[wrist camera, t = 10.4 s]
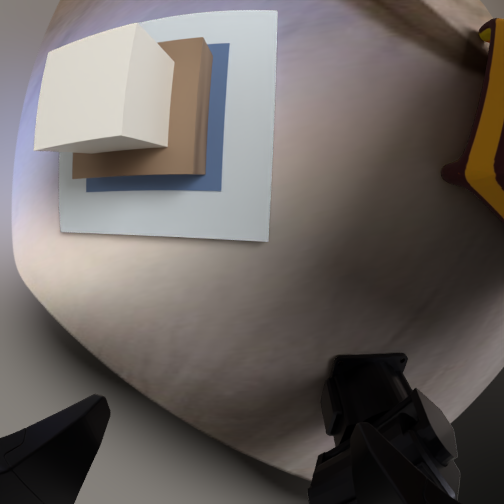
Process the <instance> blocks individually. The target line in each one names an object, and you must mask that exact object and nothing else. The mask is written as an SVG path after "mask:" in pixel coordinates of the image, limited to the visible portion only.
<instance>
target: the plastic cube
mask: <svg viewBox="0 0 504 504" xmlns="http://www.w3.org/2000/svg"><path fill="white" fill-rule="evenodd" d="M174 63H175V62H174V61H173V60H172V59H171V58H170V56H169V55H168V54H167V53H166V52H165V51H164V50H163V49H162V48H161V47H160V46H159V45H158V44H157V42H156V41H155V40H154V39H153V38H152V37H151V36H150V35H149V34H148V33H147V32H146V31H145V30H144V29H143V28H142V27H141V26H140V25H139V24H138V23H133V24H129V25H125V26H121V27H118V28H114V29H111V30H107V31H104V32H101V33H98V34H95V35H92V36H89V37H86V38H83V39H80V40H78V41H75V42H72V43H70V44H67V45H65V46H62V47H60V48H58V49H55V50H53V51H51V52H49V53H48V57H47V61H46V65H45V70H44V74H43V79H42V85H41V90H40V96H39V103H38V110H37V118H36V127H35V139H34V151H54V152H74V153H89V154H93V153H101V152H110V151H120V150H131V149H143V148H159V147H168V130H169V115H170V102H171V91H172V81H173V71H174Z"/></svg>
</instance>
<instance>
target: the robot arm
mask: <svg viewBox="0 0 504 504" xmlns="http://www.w3.org/2000/svg"><path fill="white" fill-rule="evenodd" d="M402 358H403V359H402ZM401 359H402V360H401ZM407 360H408V358H407V356H406V354H404V353H397V354H379V355H343V356H338V357H336V358H335V360H334V363H333V367H332V372H331V376H330V378H328V379H327V380H326V382H325V386H324V390H323V394H322V398H321V406H322V413H323V417H324V423H325V429H326V434H327V435H329V436H334V441H335V448H333V449H331V450H330V451H328V452H324V453H322V454H320V455H319V456H318V459H317V463H316V467H315V471H314V473H313V478H312V482H311V486H310V487H309V488H308V492H307V493H308V499H309V500H308V501H309V504H462V503H460V502H458V501H457V498H458V490H459V482H460V472H459V469H458V468H457V466H456V465H455V463H454V461H453V460H454V459H455V458H457V447H456V441H455V436H454V435H455V434H454V430H453V428H452V426H451V425H450V423H449V422H448V420H447V419H446V417H445V415H444V414H443V412H442V411H441V410H440V409H439V408H438V407H437V406H436V405H435V404H434V403H433V402H431V401H430V400H429V399H428V398H427V397H426V396H425V395H424V394H423V393H422V392H420V391H419V390H418V389H417V388H415V389H414V390H413V391H412V389H411V387H410V385H409V383H408V382H407V380H406V378H405V377H404V375H403V371H404V368H405V366H406V363H407ZM340 361H343V362H342V363H339V362H340ZM109 418H110V409H109V406H108V403H107V400H106V398H105V397H104V396H102V395H98V394H93V395H91V396H89V397H87V398H85V399H83V400H82V401H80V402H78V403H76V404H74V405H72V406H70V407H68V408H66V409H64V410H62V411H60V412H58V413H56V414H54V415H52V416H50V417H47V418H45V419H43V420H41V421H39V422H37V423H35V424H33V425H31V426H29V427H27V428H24V429H22V430H20V431H17V432H15V433H13V434H10V435H8V436H5V437H2V438H0V504H74V503H75V500H76V498H77V496H78V493H79V491H80V489H81V487H82V484H83V482H84V480H85V478H86V475H87V473H88V471H89V469H90V467H91V464H92V462H93V460H94V458H95V456H96V454H97V452H98V449H99V447H100V445H101V442H102V439H103V436H104V432H105V430H106V427H107V424H108V421H109Z"/></svg>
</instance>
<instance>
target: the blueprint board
mask: <svg viewBox="0 0 504 504" xmlns="http://www.w3.org/2000/svg"><path fill="white" fill-rule="evenodd" d="M138 24H139V25H140V26H141V27H142V28H143V29H144V30H145V31H146V32H147V33H148V34H149V35H150V36H151V37H152V38H153V39H154V40H155V41H156V42H157V44H158V45H159V46H160V47H161V48H162V49H163V50H164V51H165V52H166V53H167V54H168V55H169V56H170V58H171V59H172V60H173V61H174V62H175V63H174V71H173V81H172V91H171V102H170V115H169V130H168V147H159V148H143V149H131V150H120V151H110V152H101V153H93V154H89V153H74V152H59V214H60V230H61V232H74V233H100V234H124V235H146V236H167V237H188V238H207V239H226V240H244V241H262V242H268V238H269V220H270V201H271V181H272V160H273V137H274V112H275V84H276V51H277V11H272V10H234V11H216V12H204V13H194V14H186V15H179V16H172V17H166V18H160V19H155V20H150V21H145V22H141V23H138Z"/></svg>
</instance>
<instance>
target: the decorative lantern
mask: <svg viewBox="0 0 504 504" xmlns="http://www.w3.org/2000/svg"><path fill="white" fill-rule="evenodd" d="M479 36H480V38H481V39H482V40H483V41H485V42H488V43H490V45H489V53H488V60H487V66H486V72H485V77H484V82H483V87H482V92H481V96H480V100H479V105H478V109H477V113H476V116H475V120H474V124H473V127H472V131H471V134H470V137H469V140H468V144H467V146H466V149H465V151H464V153H463V155H462V156H461V158H460V159H459V160H458V161H456V162H453V163H450V164H447V165H445V166H444V167H443V168H442V170H441V176H442V177H443V179H444V180H445V181H447V182H448V183H451V184H454V185H458V186H461V187H464V188H466V189H467V190H469V191H470V192H472V193H473V194H474V195H475V196H477V197H478V198H479V199H480V200H481V201H482V202H483V203H484V204H485V205H486V206H487V207H488V208H489V209H490V210H491V211H492V212H493V213H494V214H495V215H496V216H497V217H498V218H499V219H500V220H501V221H502V222H503V223H504V19H499V18H495V19H491V20H490V21H488V22H487V23H485V24H484V25H483V26H482V27H481V28H480V29H479Z"/></svg>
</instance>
